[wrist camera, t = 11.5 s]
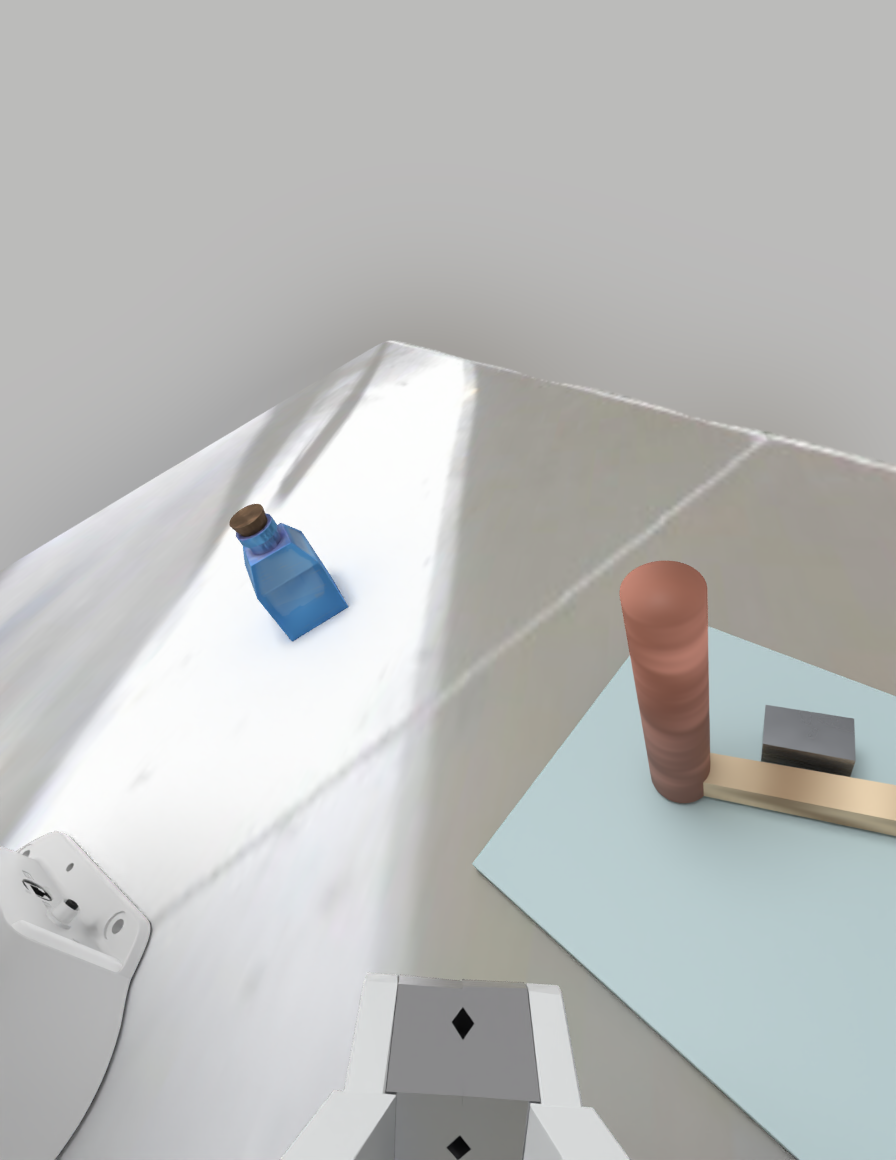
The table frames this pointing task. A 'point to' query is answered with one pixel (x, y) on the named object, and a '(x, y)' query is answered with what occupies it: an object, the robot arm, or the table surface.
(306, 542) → the perfume bottle
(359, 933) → the table surface
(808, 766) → the block
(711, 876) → the board
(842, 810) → the brown piece
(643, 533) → the table surface
